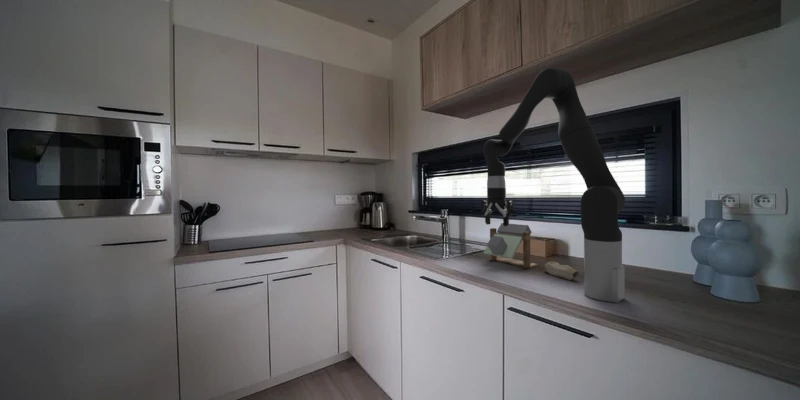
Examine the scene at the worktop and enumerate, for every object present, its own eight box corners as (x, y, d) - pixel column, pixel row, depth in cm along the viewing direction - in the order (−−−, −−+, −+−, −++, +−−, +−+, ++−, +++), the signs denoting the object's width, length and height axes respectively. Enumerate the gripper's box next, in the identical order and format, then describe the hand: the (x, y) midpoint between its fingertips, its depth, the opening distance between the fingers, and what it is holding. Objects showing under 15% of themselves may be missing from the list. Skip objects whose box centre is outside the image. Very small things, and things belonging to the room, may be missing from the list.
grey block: (502, 254, 117) (497, 246, 115) (492, 252, 121) (486, 244, 119) (507, 245, 119) (502, 237, 117) (497, 244, 123) (492, 235, 121)
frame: (537, 265, 121) (537, 231, 120) (528, 268, 116) (528, 232, 116) (498, 258, 136) (498, 227, 136) (489, 260, 132) (489, 228, 131)
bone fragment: (541, 271, 112) (541, 260, 112) (556, 271, 113) (556, 259, 113) (565, 282, 99) (565, 269, 99) (581, 281, 100) (581, 268, 99)
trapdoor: (532, 232, 123) (528, 225, 121) (515, 264, 115) (511, 257, 114) (504, 229, 134) (501, 222, 132) (487, 258, 126) (483, 252, 125)
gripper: (477, 187, 122) (477, 224, 123) (506, 186, 111) (506, 227, 111) (487, 187, 127) (488, 223, 127) (516, 186, 115) (517, 225, 116)
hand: (496, 225), depth 119 cm, fingers open, 8 cm apart
